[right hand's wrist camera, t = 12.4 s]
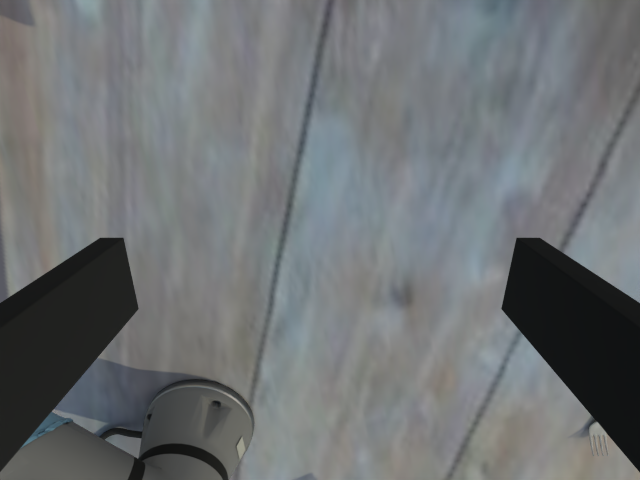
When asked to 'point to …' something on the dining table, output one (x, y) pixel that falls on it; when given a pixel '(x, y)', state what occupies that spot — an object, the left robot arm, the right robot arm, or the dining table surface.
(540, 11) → the dining table surface
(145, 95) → the dining table surface
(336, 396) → the dining table surface
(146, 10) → the dining table surface
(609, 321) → the right robot arm
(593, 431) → the fork
